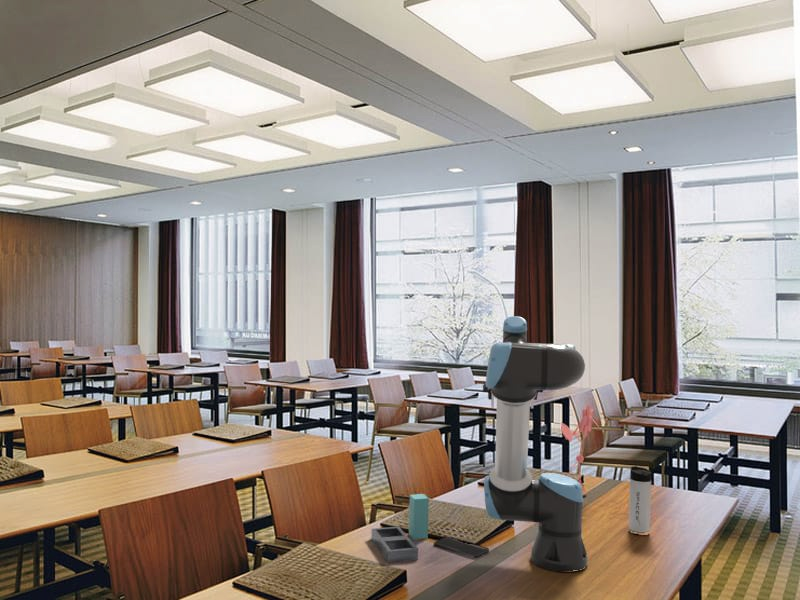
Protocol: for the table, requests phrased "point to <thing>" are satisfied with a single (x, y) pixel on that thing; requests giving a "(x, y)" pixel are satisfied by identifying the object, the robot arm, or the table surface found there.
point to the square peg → (418, 516)
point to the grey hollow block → (394, 544)
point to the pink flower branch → (584, 426)
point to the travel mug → (639, 500)
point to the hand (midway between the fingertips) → (512, 405)
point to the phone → (461, 547)
